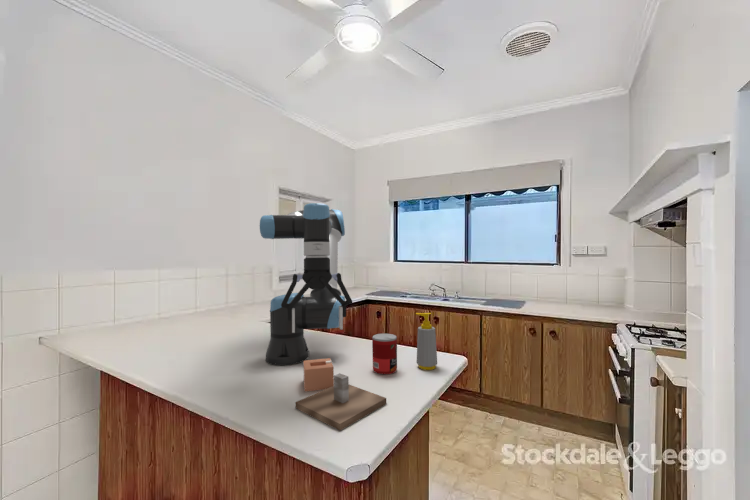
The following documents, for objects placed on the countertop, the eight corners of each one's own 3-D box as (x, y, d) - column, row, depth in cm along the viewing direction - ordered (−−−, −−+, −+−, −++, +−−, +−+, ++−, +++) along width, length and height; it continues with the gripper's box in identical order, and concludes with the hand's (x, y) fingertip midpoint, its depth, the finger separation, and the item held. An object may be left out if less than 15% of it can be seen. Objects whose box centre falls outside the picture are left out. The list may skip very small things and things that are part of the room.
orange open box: (304, 391, 90) (304, 368, 90) (303, 380, 98) (303, 359, 98) (333, 388, 92) (333, 365, 92) (330, 377, 100) (330, 356, 100)
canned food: (395, 375, 101) (395, 340, 101) (370, 373, 103) (369, 338, 103) (398, 366, 109) (398, 333, 109) (375, 365, 110) (374, 332, 110)
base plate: (295, 408, 81) (295, 377, 81) (342, 387, 93) (342, 360, 93) (340, 430, 70) (339, 395, 70) (386, 403, 82) (386, 374, 82)
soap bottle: (415, 363, 112) (414, 311, 112) (435, 363, 112) (435, 311, 112) (417, 370, 105) (416, 315, 105) (439, 370, 105) (438, 314, 105)
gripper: (271, 257, 88) (271, 336, 88) (361, 256, 95) (362, 329, 94) (272, 257, 96) (273, 330, 95) (356, 256, 102) (357, 324, 102)
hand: (317, 330), depth 95 cm, fingers open, 13 cm apart
